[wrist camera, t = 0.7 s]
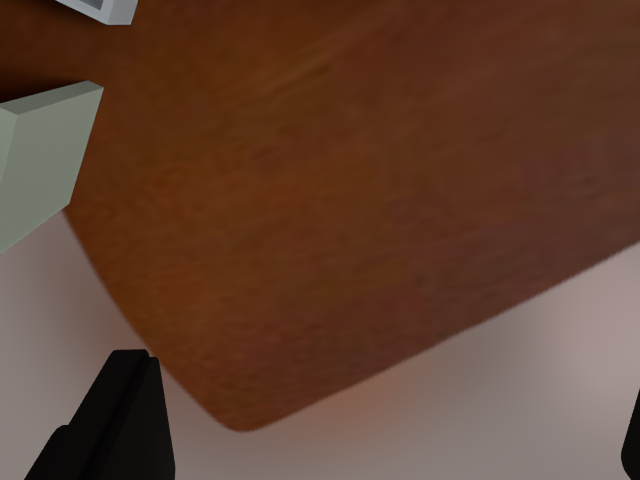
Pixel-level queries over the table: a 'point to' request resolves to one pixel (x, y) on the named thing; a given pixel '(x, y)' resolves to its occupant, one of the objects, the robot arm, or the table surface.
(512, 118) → the table surface
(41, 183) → the shelf slot
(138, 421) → the robot arm
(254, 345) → the table surface
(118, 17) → the tray
